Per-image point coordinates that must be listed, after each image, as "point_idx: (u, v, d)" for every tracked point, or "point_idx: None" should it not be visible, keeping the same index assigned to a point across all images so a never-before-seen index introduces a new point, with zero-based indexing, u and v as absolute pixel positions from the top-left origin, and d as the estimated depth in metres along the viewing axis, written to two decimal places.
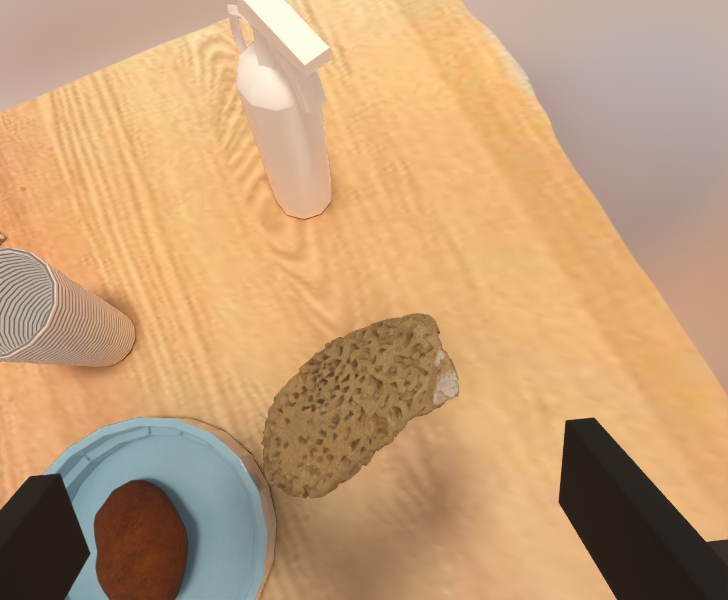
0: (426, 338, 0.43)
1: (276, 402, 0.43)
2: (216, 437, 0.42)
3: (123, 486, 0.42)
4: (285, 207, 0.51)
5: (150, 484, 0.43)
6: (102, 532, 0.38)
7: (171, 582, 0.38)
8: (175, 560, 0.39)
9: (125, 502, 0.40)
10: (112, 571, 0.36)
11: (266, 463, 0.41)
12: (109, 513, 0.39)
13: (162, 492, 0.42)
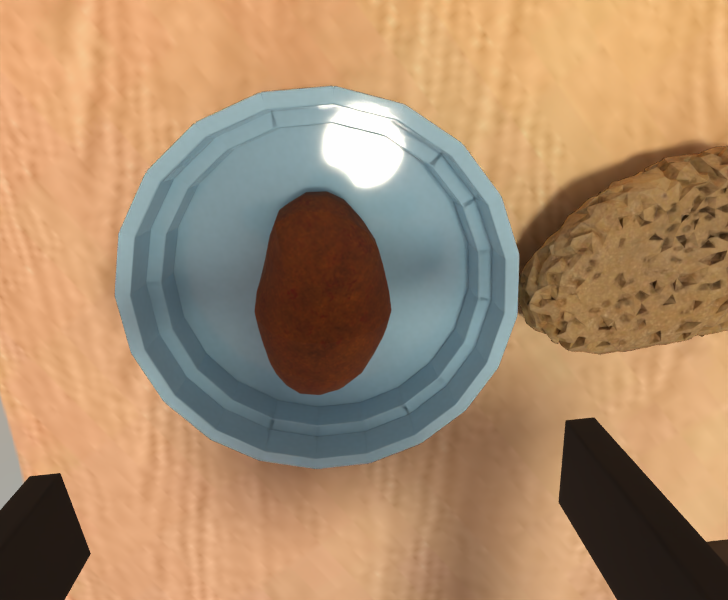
0: None
1: (617, 203, 0.25)
2: (504, 207, 0.24)
3: (322, 200, 0.25)
4: None
5: (358, 216, 0.26)
6: (301, 271, 0.22)
7: (360, 371, 0.26)
8: (375, 347, 0.26)
9: (338, 237, 0.23)
10: (306, 337, 0.23)
11: (549, 282, 0.26)
12: (314, 246, 0.23)
13: (373, 238, 0.26)
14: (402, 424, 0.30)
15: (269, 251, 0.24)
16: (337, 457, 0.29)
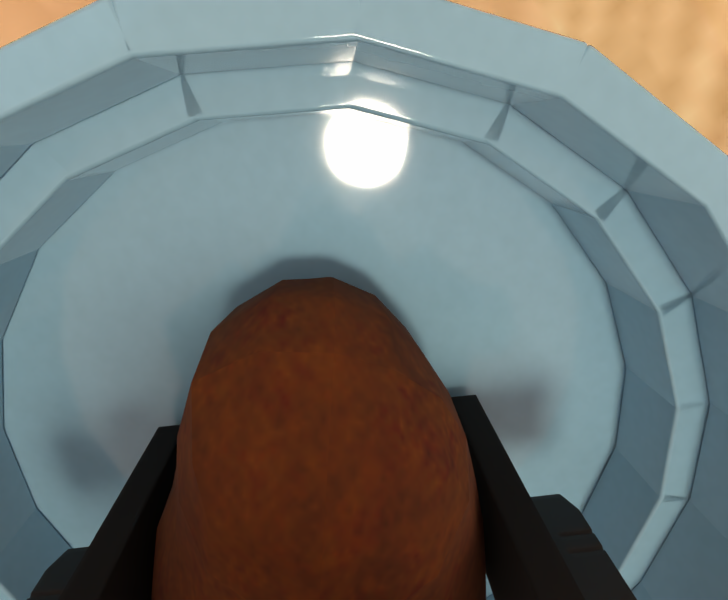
0: None
1: None
2: None
3: (322, 310, 0.10)
4: None
5: (411, 340, 0.10)
6: (252, 574, 0.07)
7: None
8: None
9: (366, 441, 0.08)
10: None
11: None
12: (295, 483, 0.07)
13: (446, 392, 0.11)
14: None
15: (178, 454, 0.09)
16: None
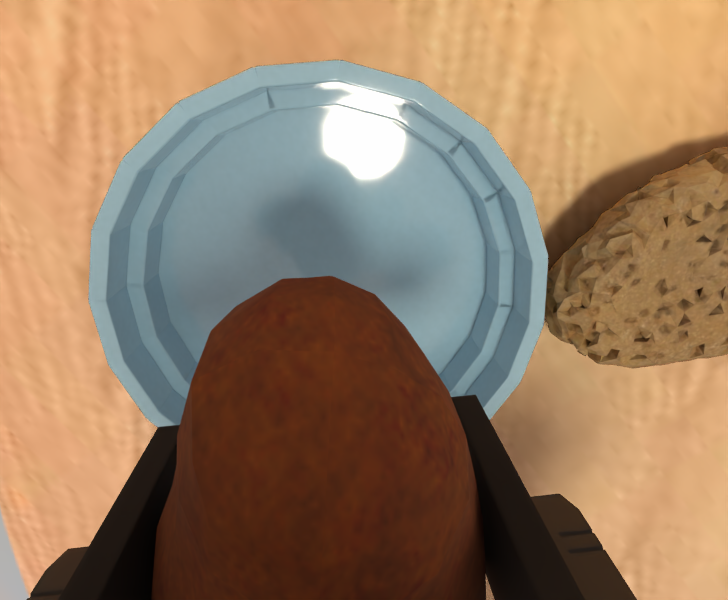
0: None
1: (661, 199, 0.22)
2: (532, 203, 0.21)
3: (321, 309, 0.10)
4: None
5: (410, 338, 0.11)
6: (253, 571, 0.07)
7: None
8: None
9: (366, 439, 0.08)
10: None
11: (580, 289, 0.23)
12: (295, 481, 0.07)
13: (446, 390, 0.11)
14: None
15: (178, 453, 0.09)
16: None
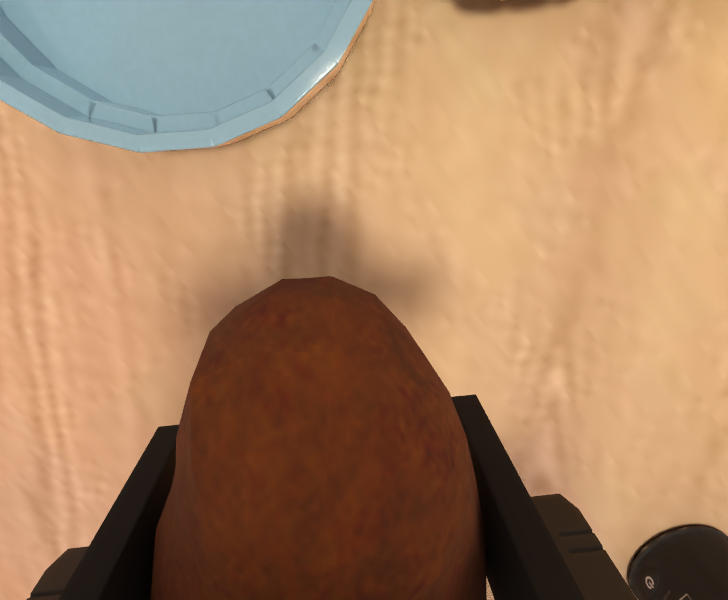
0: None
1: None
2: None
3: (321, 310, 0.10)
4: None
5: (411, 339, 0.10)
6: (252, 574, 0.07)
7: None
8: None
9: (366, 441, 0.08)
10: None
11: None
12: (295, 483, 0.07)
13: (446, 391, 0.11)
14: None
15: (177, 454, 0.09)
16: (167, 133, 0.21)
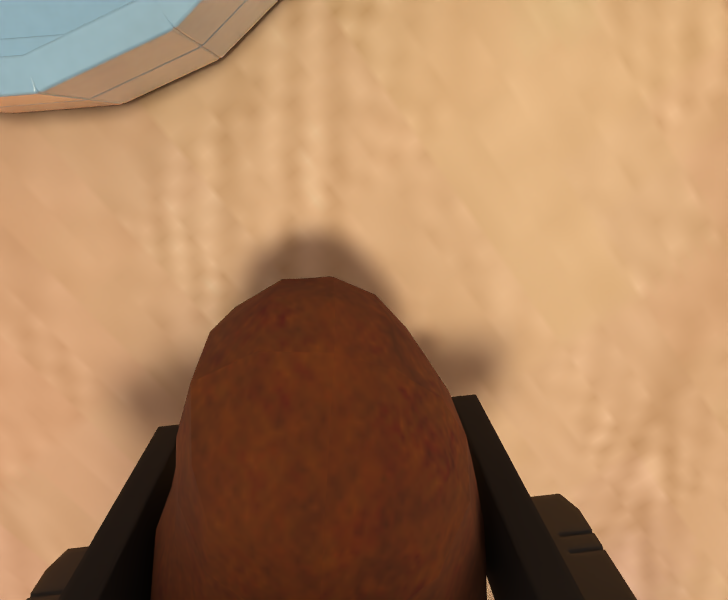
0: None
1: None
2: None
3: (322, 310, 0.10)
4: None
5: (411, 339, 0.10)
6: (252, 574, 0.07)
7: None
8: None
9: (367, 441, 0.08)
10: None
11: None
12: (295, 484, 0.07)
13: (447, 391, 0.11)
14: None
15: (177, 455, 0.09)
16: None
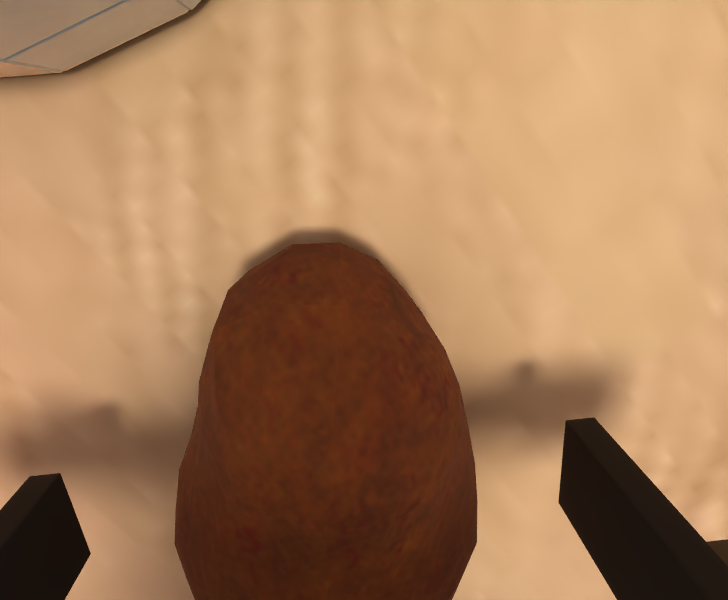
0: None
1: None
2: None
3: (329, 270, 0.11)
4: None
5: (410, 299, 0.12)
6: (270, 488, 0.08)
7: None
8: None
9: (369, 380, 0.09)
10: None
11: None
12: (307, 413, 0.08)
13: (442, 347, 0.12)
14: None
15: (200, 397, 0.10)
16: None
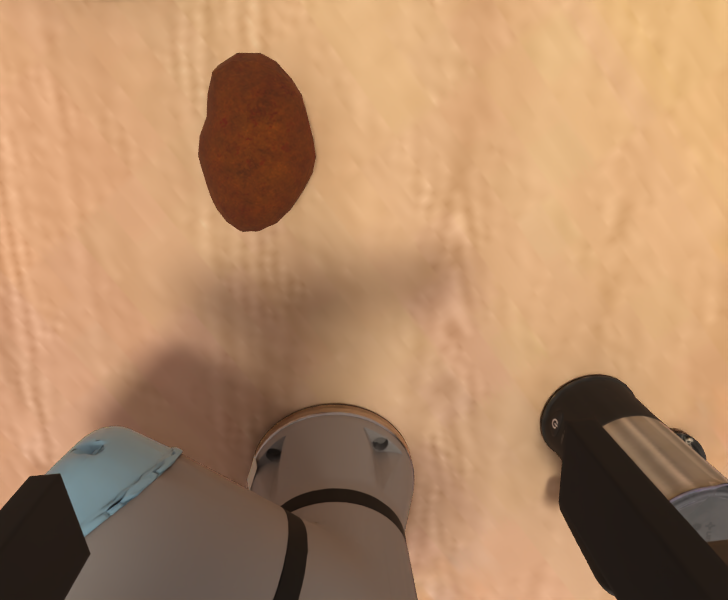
0: None
1: None
2: None
3: (254, 55, 0.30)
4: None
5: (286, 73, 0.31)
6: (230, 102, 0.27)
7: (288, 205, 0.31)
8: (300, 184, 0.30)
9: (263, 78, 0.28)
10: (234, 157, 0.27)
11: None
12: (241, 82, 0.28)
13: (299, 93, 0.31)
14: None
15: (208, 96, 0.29)
16: None
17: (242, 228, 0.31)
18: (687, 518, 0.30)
